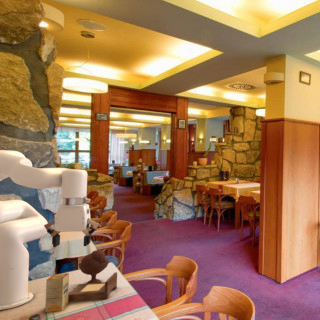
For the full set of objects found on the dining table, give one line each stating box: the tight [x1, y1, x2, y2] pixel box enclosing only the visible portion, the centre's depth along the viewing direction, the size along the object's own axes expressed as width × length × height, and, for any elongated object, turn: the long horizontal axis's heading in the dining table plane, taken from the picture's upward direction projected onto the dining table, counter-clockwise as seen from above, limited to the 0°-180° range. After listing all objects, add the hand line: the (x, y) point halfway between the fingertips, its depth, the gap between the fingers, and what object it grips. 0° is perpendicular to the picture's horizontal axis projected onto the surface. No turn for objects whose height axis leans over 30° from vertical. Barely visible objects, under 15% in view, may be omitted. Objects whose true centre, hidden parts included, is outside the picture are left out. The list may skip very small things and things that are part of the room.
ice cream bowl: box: [78, 249, 110, 283], centre depth 129 cm, size 11×11×15 cm
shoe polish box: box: [45, 272, 70, 313], centre depth 107 cm, size 5×5×12 cm
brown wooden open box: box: [68, 271, 118, 303], centre depth 118 cm, size 14×10×7 cm
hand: (71, 245), depth 109 cm, fingers open, 9 cm apart
